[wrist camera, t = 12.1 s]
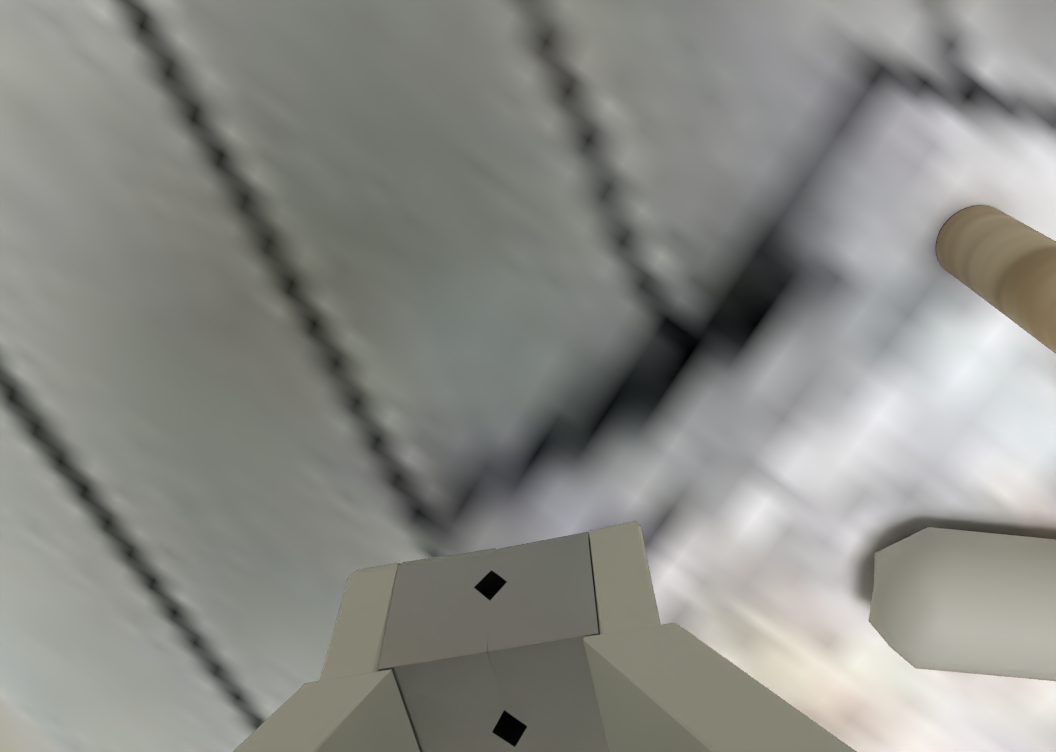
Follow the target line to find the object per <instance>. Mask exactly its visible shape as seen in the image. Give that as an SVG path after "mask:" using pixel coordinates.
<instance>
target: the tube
mask: <svg viewBox="0 0 1056 752" xmlns="http://www.w3.org/2000/svg"><path fill="white" fill-rule="evenodd" d="M869 622H870V623H871V624H872V626H873V627H874V628H875V629H876V630H877V632H878V633H879V634H880V635H881V636H882V637H883V639H884V640H885V641H886V642H887V643H888V645H889V646H890V647H891V648H892V649H893V650H894V651H896V652H897V653H898V654H899V655H900V656H902V657H903V658H904V659H905V660H906V661H907V662H909V663H910V664H911V665H912V666H913V667H914V668H917V669H929V670H940V671H951V672H962V673H973V674H984V675H995V676H1006V677H1017V678H1028V679H1039V680H1050V681H1056V539H1046V538H1036V537H1025V536H1015V535H1005V534H995V533H984V532H974V531H964V530H953V529H943V528H933V527H927V528H925V529H923V530H921V531H919V532H917V533H915V534H913V535H911V536H909V537H907V538H904V539H902V540H900V541H898V542H896V543H894V544H892V545H890V546H888V547H886V548H884V549H882V550H880V551H878V552H876V553H875V561H874V585H873V593H872V600H871V607H870V615H869Z"/></svg>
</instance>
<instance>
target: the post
mask: <svg viewBox="0 0 1056 752" xmlns="http://www.w3.org/2000/svg"><path fill="white" fill-rule="evenodd" d="M936 254H937V258H938V260H939V262H940V264H941V266H942V267H943V268H944V269H945V270H946V271H948V272H949V273H950V274H952V275H953V276H954V277H956V278H957V279H958V280H960V281H961V282H962V283H963V284H965V285H966V286H967V287H969V288H970V289H971V290H973V291H974V292H975V293H977V294H978V295H979V296H981V297H982V298H983V299H985V300H986V301H987V302H988V303H990V304H991V305H992V306H994V307H995V308H996V309H998V310H999V311H1000V312H1002V313H1003V314H1004V315H1006V316H1007V317H1008V318H1010V319H1011V320H1012V321H1013V322H1015V323H1016V324H1017V325H1019V326H1020V327H1021V328H1023V329H1024V330H1025V331H1027V332H1028V333H1029V334H1031V335H1032V336H1033V337H1035V338H1036V339H1037V340H1038V341H1040V342H1041V343H1042V344H1044V345H1045V346H1046V347H1048V348H1049V349H1050V350H1052V351H1053V352H1054V353H1056V241H1054V240H1052V239H1050V238H1048V237H1047V236H1045V235H1043V234H1041V233H1039V232H1038V231H1036V230H1034V229H1032V228H1030V227H1029V226H1027V225H1025V224H1023V223H1021V222H1019V221H1018V220H1016V219H1014V218H1012V217H1010V216H1009V215H1007V214H1005V213H1003V212H1001V211H999V210H998V209H996V208H993V207H990V206H985V205H977V206H972V207H968V208H965V209H963V210H961V211H959V212H957V213H956V214H954V215H953V216H952V217H951V218H950V219H949V220H948V221H947V222H946V223H945V224H944V226H943V227H942V229H941V231H940V233H939V235H938V238H937V242H936Z"/></svg>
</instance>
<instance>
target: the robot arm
mask: <svg viewBox="0 0 1056 752" xmlns="http://www.w3.org/2000/svg"><path fill="white" fill-rule="evenodd" d="M233 752H856V751H855V750H854V749H852V748H851V747H849V746H848V745H847V744H845V743H844V742H842V741H841V740H840V739H838V738H837V737H835V736H834V735H832V734H831V733H830V732H828V731H827V730H825V729H824V728H823V727H821V726H820V725H818V724H817V723H816V722H814V721H813V720H811V719H810V718H809V717H807V716H806V715H804V714H803V713H802V712H800V711H799V710H797V709H796V708H795V707H793V706H792V705H790V704H789V703H788V702H786V701H785V700H783V699H782V698H781V697H779V696H778V695H776V694H775V693H774V692H772V691H771V690H769V689H768V688H767V687H765V686H764V685H762V684H761V683H760V682H758V681H757V680H755V679H754V678H753V677H751V676H750V675H748V674H747V673H746V672H744V671H743V670H741V669H740V668H739V667H737V666H736V665H734V664H733V663H732V662H730V661H729V660H727V659H726V658H725V657H723V656H722V655H720V654H719V653H717V652H716V651H715V650H713V649H712V648H710V647H709V646H708V645H706V644H705V643H703V642H702V641H701V640H699V639H698V638H696V637H695V636H694V635H692V634H691V633H689V632H688V631H687V630H685V629H684V628H682V627H681V626H680V625H678V624H677V623H669V624H663V625H661V624H660V619H659V614H658V609H657V604H656V599H655V594H654V590H653V585H652V580H651V575H650V570H649V565H648V560H647V555H646V551H645V546H644V541H643V536H642V531H641V526H640V524H639V523H638V522H637V521H633V522H628V523H623V524H619V525H614V526H609V527H604V528H599V529H595V530H590V533H589V532H584V533H579V534H574V535H569V536H563V537H558V538H553V539H548V540H542V541H537V542H532V543H527V544H521V545H516V546H511V547H506V548H500V549H495V548H493V549H487V550H480V551H474V552H467V553H460V554H454V555H447V556H441V557H434V558H428V559H421V560H414V561H408V562H403V563H402V564H399V563H394V564H389V565H383V566H378V567H372V568H366V569H361V570H356V571H355V572H353V573H352V574H351V575H350V576H349V578H348V580H347V583H346V587H345V591H344V594H343V598H342V601H341V605H340V608H339V612H338V616H337V619H336V623H335V626H334V630H333V634H332V637H331V641H330V644H329V648H328V651H327V655H326V659H325V662H324V666H323V669H322V673H321V676H320V680H319V681H316V682H311V683H305V684H304V685H303V686H302V687H301V688H300V689H299V690H298V691H297V692H296V693H294V694H293V695H292V696H291V697H290V698H289V699H288V700H287V701H286V702H285V703H284V704H283V705H282V706H281V707H280V708H279V709H278V710H276V711H275V712H274V713H273V714H272V715H271V716H270V717H269V718H268V719H267V720H266V721H265V722H264V723H263V724H262V725H261V726H260V727H258V728H257V729H256V730H255V731H254V732H253V733H252V734H251V735H250V736H249V737H248V738H247V739H246V740H245V741H244V742H243V743H242V744H241V745H239V746H238V747H237V748H236V749H235V750H234V751H233Z"/></svg>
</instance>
